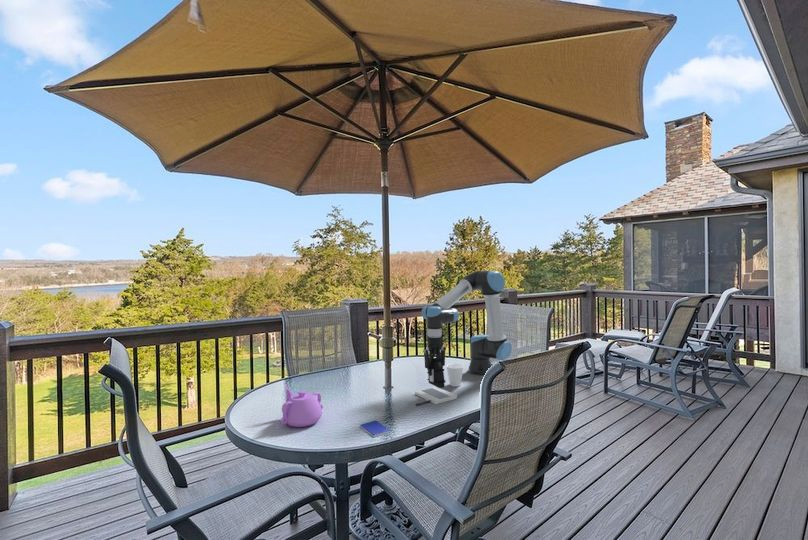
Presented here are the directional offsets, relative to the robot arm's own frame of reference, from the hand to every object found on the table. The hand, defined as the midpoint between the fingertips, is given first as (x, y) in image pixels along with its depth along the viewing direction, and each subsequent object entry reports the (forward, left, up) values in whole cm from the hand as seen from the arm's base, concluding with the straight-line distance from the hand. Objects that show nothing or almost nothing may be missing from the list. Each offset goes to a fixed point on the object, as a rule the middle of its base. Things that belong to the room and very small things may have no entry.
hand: (435, 380), depth 207 cm
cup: (-20, -8, -9) cm, 23 cm away
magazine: (0, 0, -2) cm, 2 cm away
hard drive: (+45, +17, -9) cm, 49 cm away
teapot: (+69, -11, -9) cm, 70 cm away
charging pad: (+4, 0, -8) cm, 9 cm away
